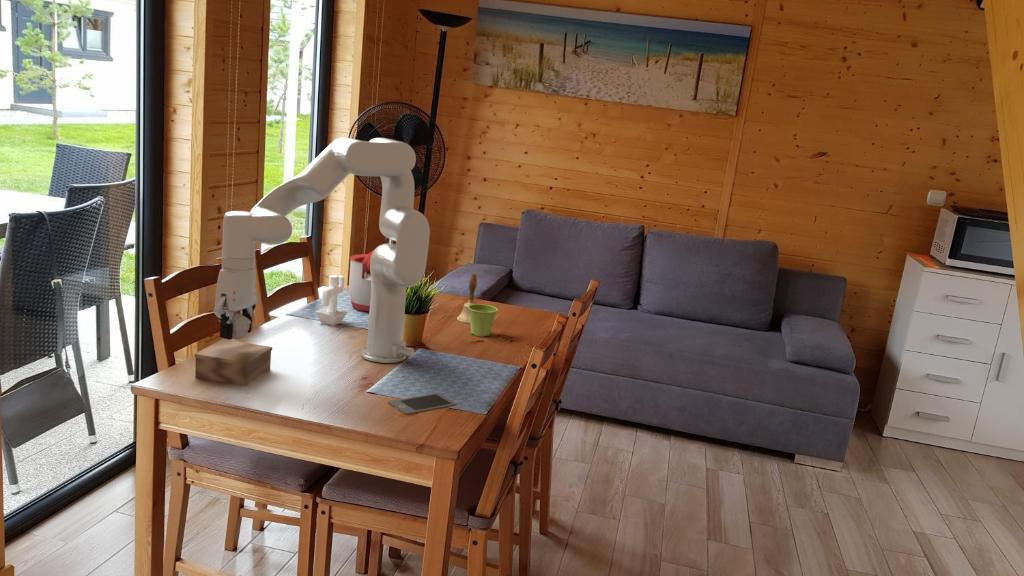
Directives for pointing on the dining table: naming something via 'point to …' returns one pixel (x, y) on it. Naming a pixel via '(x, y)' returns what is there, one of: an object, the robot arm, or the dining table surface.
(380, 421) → the dining table surface
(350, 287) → the citrus juicer
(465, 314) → the hand bell
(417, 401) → the smartphone
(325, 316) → the figurine
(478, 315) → the plant pot
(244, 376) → the walnut box
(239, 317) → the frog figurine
